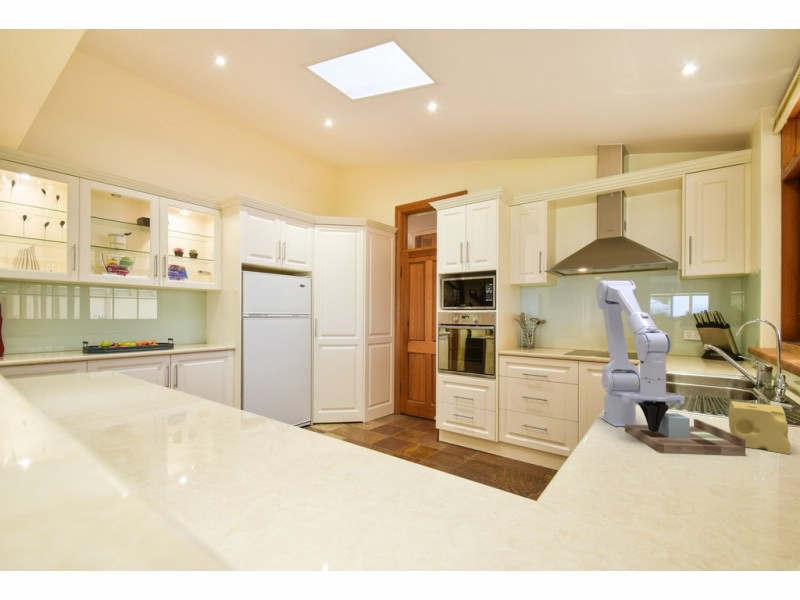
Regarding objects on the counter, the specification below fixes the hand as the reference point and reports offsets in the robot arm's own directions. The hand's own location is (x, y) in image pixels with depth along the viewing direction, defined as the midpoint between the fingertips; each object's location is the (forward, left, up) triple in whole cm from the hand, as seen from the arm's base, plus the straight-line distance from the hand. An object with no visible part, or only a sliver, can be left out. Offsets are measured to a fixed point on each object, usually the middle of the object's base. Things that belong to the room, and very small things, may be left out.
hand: (653, 430), depth 102 cm
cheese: (-1, +26, -3) cm, 26 cm away
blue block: (0, +5, -1) cm, 5 cm away
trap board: (0, +6, -3) cm, 7 cm away
